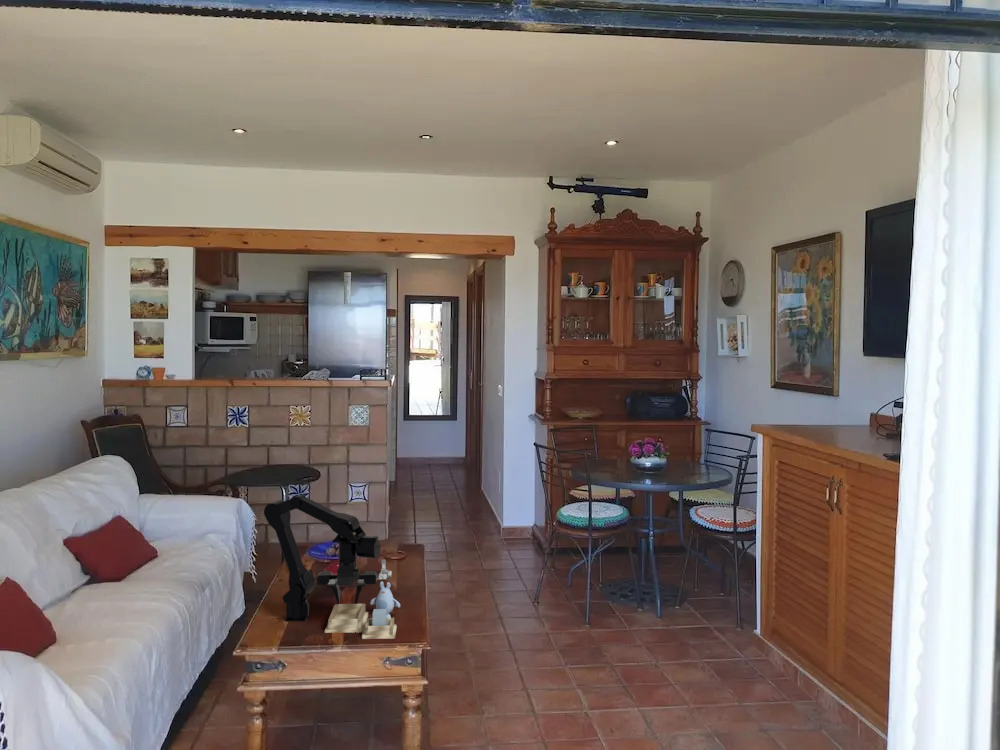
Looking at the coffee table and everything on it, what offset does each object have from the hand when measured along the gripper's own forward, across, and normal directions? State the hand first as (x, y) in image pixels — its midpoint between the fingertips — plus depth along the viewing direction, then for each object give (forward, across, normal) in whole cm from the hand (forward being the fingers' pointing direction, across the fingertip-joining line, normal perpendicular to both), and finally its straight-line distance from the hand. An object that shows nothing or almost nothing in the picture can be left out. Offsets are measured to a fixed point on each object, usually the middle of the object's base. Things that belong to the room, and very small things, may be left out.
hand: (347, 604), depth 244 cm
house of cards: (+7, +10, +47) cm, 49 cm away
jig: (+6, 0, 0) cm, 6 cm away
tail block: (+6, +11, -9) cm, 15 cm away
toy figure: (+7, +12, +5) cm, 14 cm away
